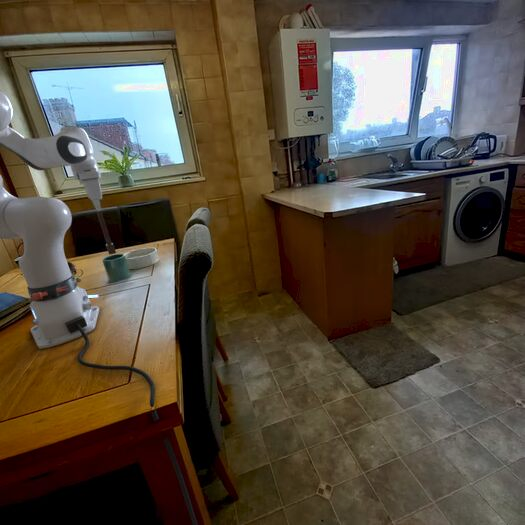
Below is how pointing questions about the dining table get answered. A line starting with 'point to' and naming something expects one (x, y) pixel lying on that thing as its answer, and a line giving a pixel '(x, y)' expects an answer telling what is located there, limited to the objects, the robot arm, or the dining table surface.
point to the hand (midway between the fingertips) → (98, 210)
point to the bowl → (141, 257)
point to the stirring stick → (106, 234)
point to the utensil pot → (116, 267)
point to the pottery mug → (71, 267)
